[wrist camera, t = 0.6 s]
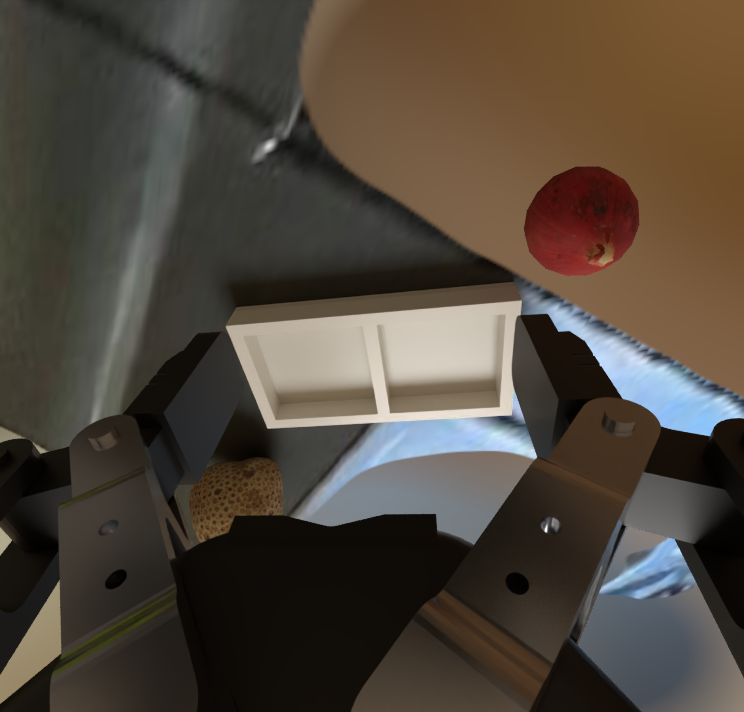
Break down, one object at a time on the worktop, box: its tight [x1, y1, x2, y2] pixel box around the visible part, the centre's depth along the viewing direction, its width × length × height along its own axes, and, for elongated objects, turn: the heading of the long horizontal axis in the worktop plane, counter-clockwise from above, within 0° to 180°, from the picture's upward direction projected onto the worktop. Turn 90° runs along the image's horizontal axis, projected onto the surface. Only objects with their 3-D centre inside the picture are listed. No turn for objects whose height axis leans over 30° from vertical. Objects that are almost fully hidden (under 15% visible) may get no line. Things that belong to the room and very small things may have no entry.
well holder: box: [226, 282, 522, 429], centre depth 35 cm, size 11×21×3 cm, turn 98°
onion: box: [524, 167, 639, 276], centre depth 24 cm, size 6×6×8 cm
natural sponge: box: [189, 457, 283, 543], centre depth 42 cm, size 9×9×10 cm
